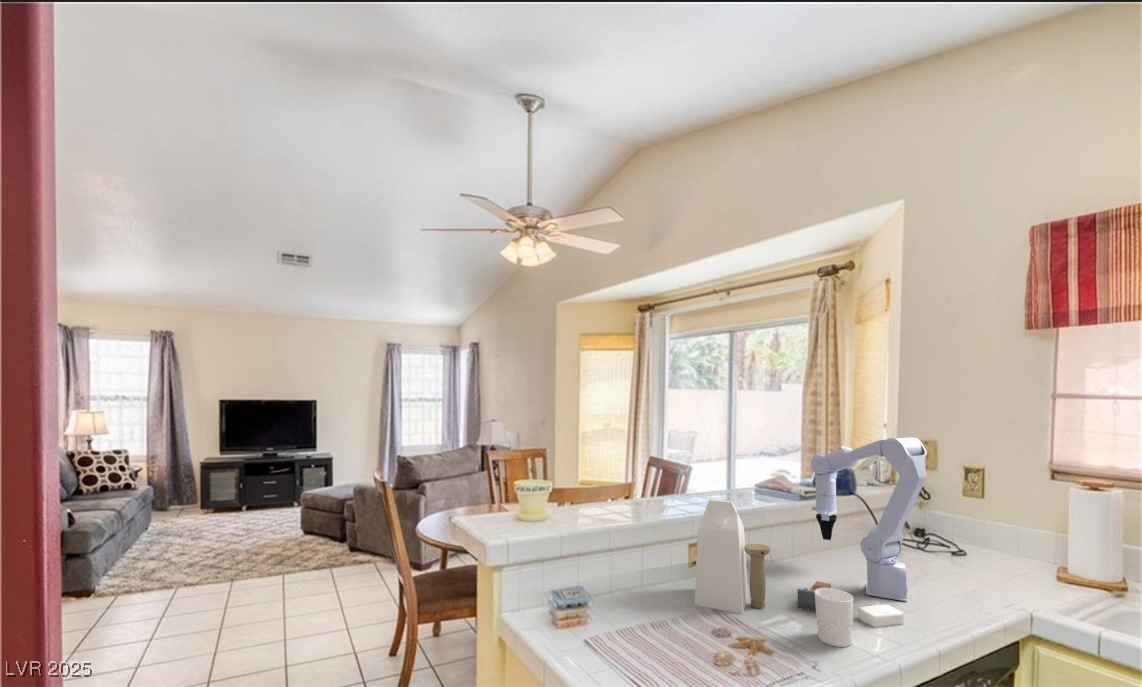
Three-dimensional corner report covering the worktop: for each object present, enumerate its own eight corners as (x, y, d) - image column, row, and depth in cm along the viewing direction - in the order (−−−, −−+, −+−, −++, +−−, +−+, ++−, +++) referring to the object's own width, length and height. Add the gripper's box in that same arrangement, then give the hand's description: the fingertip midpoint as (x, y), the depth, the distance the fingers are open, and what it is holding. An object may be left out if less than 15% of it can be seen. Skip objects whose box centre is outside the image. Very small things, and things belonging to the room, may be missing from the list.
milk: (747, 596, 142) (746, 498, 144) (742, 613, 131) (741, 508, 133) (702, 588, 147) (702, 494, 149) (694, 604, 136) (693, 502, 138)
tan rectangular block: (816, 594, 144) (816, 581, 145) (831, 597, 142) (830, 584, 143) (808, 606, 136) (807, 592, 137) (823, 610, 134) (822, 596, 135)
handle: (774, 609, 134) (773, 549, 135) (751, 611, 133) (751, 550, 134) (763, 601, 139) (762, 543, 140) (741, 603, 137) (740, 544, 138)
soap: (887, 615, 132) (886, 603, 132) (905, 625, 127) (905, 612, 127) (856, 618, 130) (856, 606, 130) (874, 629, 125) (873, 616, 125)
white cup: (808, 632, 122) (807, 587, 123) (840, 631, 123) (839, 587, 123) (827, 649, 114) (826, 602, 115) (862, 648, 115) (861, 601, 116)
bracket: (799, 598, 141) (799, 581, 141) (840, 606, 136) (839, 588, 137) (797, 607, 135) (797, 590, 135) (839, 616, 131) (839, 597, 131)
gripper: (813, 488, 170) (813, 531, 169) (810, 497, 158) (810, 543, 157) (837, 491, 167) (838, 534, 166) (836, 500, 154) (837, 547, 153)
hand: (826, 539), depth 161 cm, fingers closed
